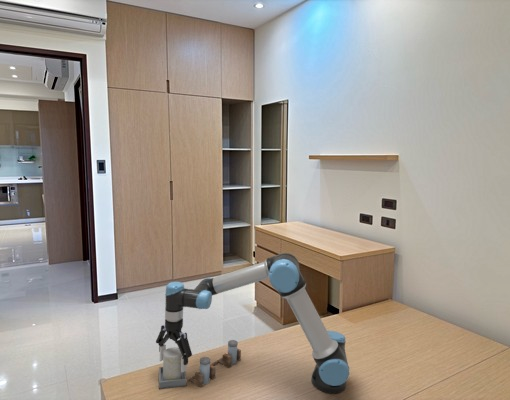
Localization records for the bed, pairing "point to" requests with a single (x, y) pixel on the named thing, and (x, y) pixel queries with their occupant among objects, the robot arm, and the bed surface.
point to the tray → (171, 381)
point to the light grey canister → (172, 364)
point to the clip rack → (214, 368)
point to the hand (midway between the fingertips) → (173, 365)
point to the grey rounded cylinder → (205, 369)
